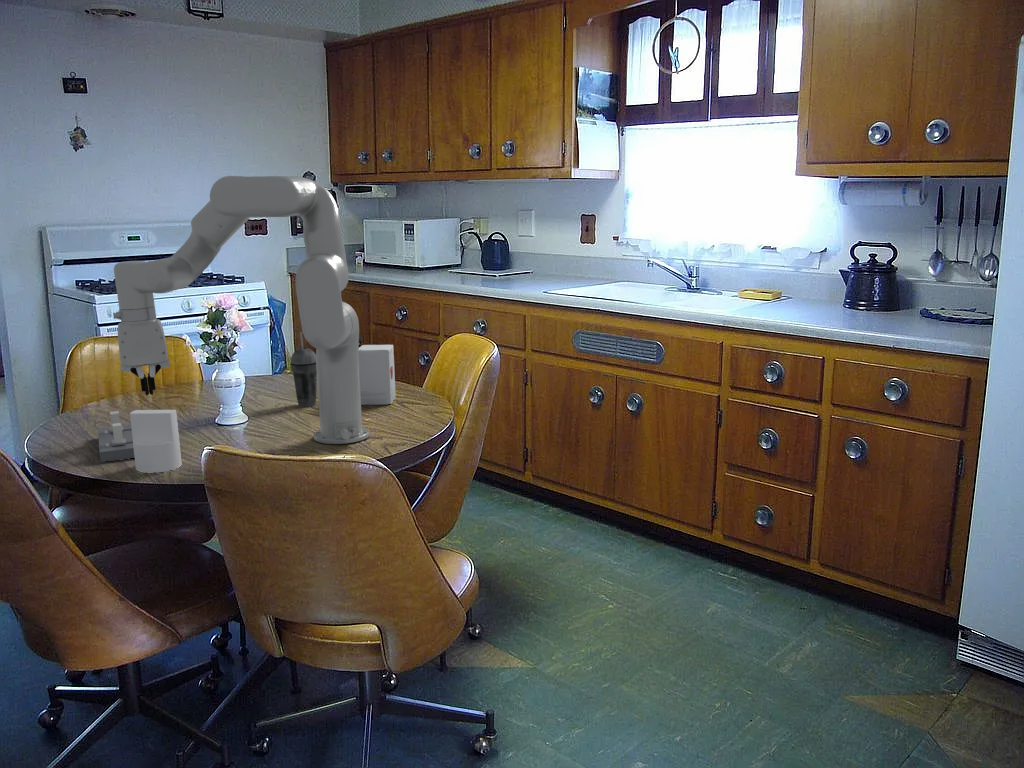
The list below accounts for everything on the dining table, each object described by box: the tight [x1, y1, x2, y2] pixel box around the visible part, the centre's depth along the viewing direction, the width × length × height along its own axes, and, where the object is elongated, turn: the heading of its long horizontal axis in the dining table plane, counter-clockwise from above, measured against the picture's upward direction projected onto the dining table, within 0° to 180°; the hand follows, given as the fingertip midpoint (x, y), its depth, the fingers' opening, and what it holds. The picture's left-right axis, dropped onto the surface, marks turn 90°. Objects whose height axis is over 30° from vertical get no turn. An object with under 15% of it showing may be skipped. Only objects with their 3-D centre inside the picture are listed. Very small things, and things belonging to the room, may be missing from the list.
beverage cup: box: [289, 331, 317, 408], centre depth 237 cm, size 7×7×20 cm
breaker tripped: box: [109, 410, 123, 433], centre depth 206 cm, size 4×3×4 cm
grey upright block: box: [129, 409, 183, 473], centre depth 186 cm, size 9×9×12 cm
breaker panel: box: [97, 424, 135, 463], centre depth 203 cm, size 22×16×2 cm
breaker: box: [111, 422, 126, 446], centre depth 195 cm, size 4×3×4 cm
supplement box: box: [358, 344, 396, 406], centre depth 240 cm, size 9×9×15 cm
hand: (149, 393), depth 208 cm, fingers closed
